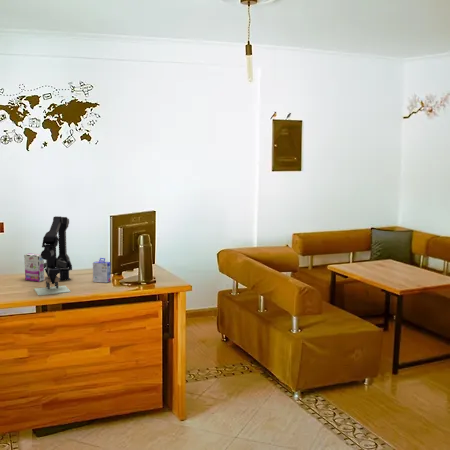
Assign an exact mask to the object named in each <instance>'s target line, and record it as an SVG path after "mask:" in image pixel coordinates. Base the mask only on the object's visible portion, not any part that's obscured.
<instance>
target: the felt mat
mask: <svg viewBox="0 0 450 450" xmlns="http://www.w3.org/2000/svg"><path fill="white" fill-rule="evenodd" d="M33 290H34V292H35V293H36V295H37V296H39V295H40V296H47V295H58V294H67V293H71V292H72V291H71V290H70V289H69V287H67V285H58V288H56V286H55V285H54V286H50V289H48V287H46V286H45V287H36V288H34V289H33ZM40 296H39V297H40Z"/></svg>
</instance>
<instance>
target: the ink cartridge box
mask: <svg viewBox="0 0 450 450" xmlns="http://www.w3.org/2000/svg"><path fill="white" fill-rule="evenodd" d="M111 264H112V263H111V261H106V257H99V259H98V261H94V262H93V263H92V282H94V283H109V282H111V281H112V275H111V267H112V266H111Z"/></svg>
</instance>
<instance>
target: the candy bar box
mask: <svg viewBox="0 0 450 450" xmlns="http://www.w3.org/2000/svg"><path fill="white" fill-rule="evenodd" d="M23 257H24V275H25V276H24V279H25V281H30V282H39V283H40V282H41V283H42V282H44V281H45V268H44V267H43V264H44V263H45V262H44V261H45V260H44V259H43V258H42V257H41V253H39V254H38V253H25V254H24V255H23Z"/></svg>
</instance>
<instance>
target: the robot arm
mask: <svg viewBox="0 0 450 450" xmlns="http://www.w3.org/2000/svg"><path fill="white" fill-rule="evenodd" d="M69 224H70V218H68V217H67V216H59V215H58V216H56V215H55V216H53V218H52V222H51V225H50V228H49V231H47V232H46V233H45V234H44V236H43V238H42V243H41V244H42V245H41V248H44V249H43V250H42V251H41V252H40V254H41V257H42V258H43V259H44V261H45V262H44V264H43V267H44V272H45V273H46V275H47V276H46V277H48V276H49V277H50V280H51V282H50V283H51V284H52V285H55V278H56V276H58V274H59V277H58V278H59V282H62V281H64V282H65V281H71V278H70V271H72V270H73V265H72V262H71V259H70V256H69V254H67V250H68V249H67V229H68V228H69ZM57 247H58V256H57Z"/></svg>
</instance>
